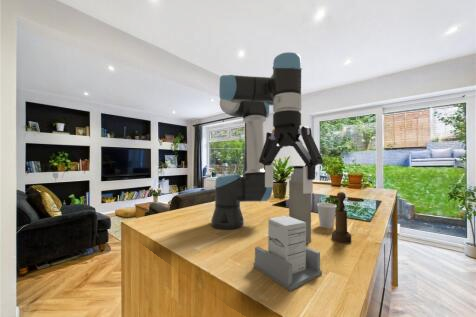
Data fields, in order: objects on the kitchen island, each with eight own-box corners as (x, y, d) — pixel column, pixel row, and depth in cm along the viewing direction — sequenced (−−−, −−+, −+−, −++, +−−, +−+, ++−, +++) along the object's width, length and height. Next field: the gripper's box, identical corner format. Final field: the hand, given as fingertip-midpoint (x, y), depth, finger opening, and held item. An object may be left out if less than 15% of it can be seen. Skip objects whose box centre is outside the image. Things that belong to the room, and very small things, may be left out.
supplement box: (267, 263, 56) (267, 218, 56) (287, 257, 59) (287, 214, 60) (285, 277, 49) (285, 225, 50) (306, 269, 53) (306, 221, 53)
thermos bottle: (309, 236, 79) (309, 165, 80) (312, 244, 72) (312, 166, 72) (288, 234, 81) (288, 165, 82) (289, 242, 73) (289, 165, 74)
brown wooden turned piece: (329, 239, 76) (329, 192, 77) (334, 235, 81) (334, 190, 81) (348, 244, 72) (348, 194, 72) (353, 239, 77) (353, 192, 77)
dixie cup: (316, 223, 97) (316, 202, 98) (335, 224, 94) (335, 203, 95) (317, 228, 89) (317, 205, 90) (337, 230, 87) (337, 207, 87)
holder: (253, 266, 56) (253, 246, 56) (284, 255, 63) (284, 237, 63) (290, 291, 46) (290, 266, 46) (321, 274, 53) (321, 252, 53)
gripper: (248, 118, 63) (247, 185, 63) (320, 98, 43) (319, 198, 43) (265, 121, 68) (265, 184, 67) (338, 104, 47) (338, 194, 47)
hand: (286, 189), depth 55 cm, fingers open, 13 cm apart
